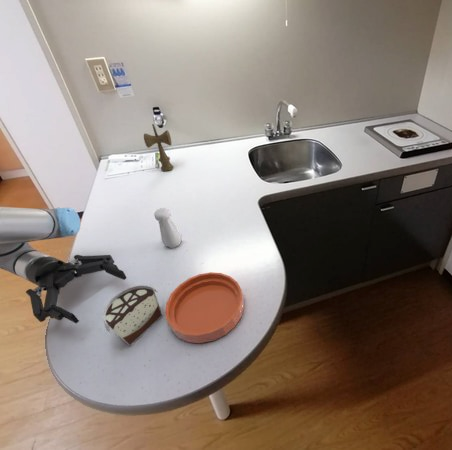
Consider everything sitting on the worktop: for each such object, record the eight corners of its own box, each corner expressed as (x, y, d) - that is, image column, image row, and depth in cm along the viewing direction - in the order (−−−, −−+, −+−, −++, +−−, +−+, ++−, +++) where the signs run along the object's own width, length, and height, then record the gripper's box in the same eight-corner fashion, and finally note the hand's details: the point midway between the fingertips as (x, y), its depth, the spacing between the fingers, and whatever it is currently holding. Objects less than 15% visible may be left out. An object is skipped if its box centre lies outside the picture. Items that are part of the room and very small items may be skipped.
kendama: (179, 170, 131) (165, 125, 118) (155, 174, 129) (138, 128, 116) (179, 164, 136) (166, 119, 123) (156, 167, 133) (140, 122, 121)
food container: (151, 301, 80) (137, 275, 73) (167, 311, 77) (155, 286, 71) (107, 339, 72) (88, 314, 65) (124, 351, 69) (105, 327, 63)
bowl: (216, 356, 68) (212, 347, 65) (153, 327, 74) (148, 318, 71) (257, 294, 81) (255, 285, 78) (201, 274, 86) (197, 264, 84)
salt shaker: (178, 234, 99) (167, 202, 91) (186, 244, 96) (175, 211, 88) (161, 243, 96) (147, 210, 88) (168, 252, 93) (154, 219, 85)
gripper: (91, 248, 91) (145, 269, 84) (-1, 316, 73) (59, 349, 67) (78, 229, 86) (135, 250, 79) (-22, 297, 68) (40, 331, 62)
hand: (100, 295), depth 73 cm, fingers open, 13 cm apart
